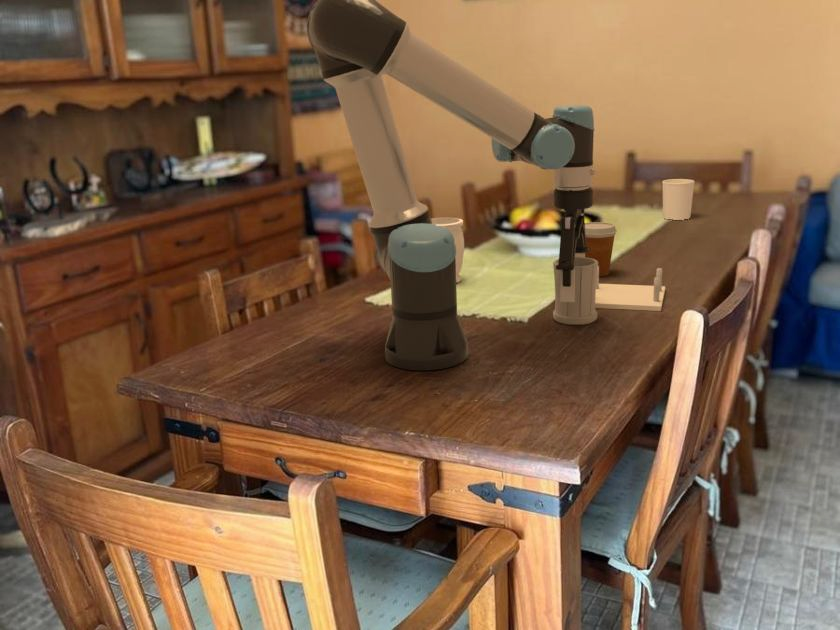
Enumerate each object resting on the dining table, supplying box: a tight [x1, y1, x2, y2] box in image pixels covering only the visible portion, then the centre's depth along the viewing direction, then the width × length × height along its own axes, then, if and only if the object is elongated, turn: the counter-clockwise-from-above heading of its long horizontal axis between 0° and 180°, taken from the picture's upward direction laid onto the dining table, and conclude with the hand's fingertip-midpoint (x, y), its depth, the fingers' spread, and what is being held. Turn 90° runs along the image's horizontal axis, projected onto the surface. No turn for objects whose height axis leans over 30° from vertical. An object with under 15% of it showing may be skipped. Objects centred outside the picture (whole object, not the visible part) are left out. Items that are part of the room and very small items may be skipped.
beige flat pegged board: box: [595, 266, 666, 312], centre depth 176 cm, size 16×16×6 cm
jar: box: [431, 217, 465, 284], centre depth 197 cm, size 11×10×15 cm
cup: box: [552, 257, 598, 326], centre depth 164 cm, size 10×9×12 cm
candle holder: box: [661, 178, 695, 221], centre depth 260 cm, size 10×10×12 cm
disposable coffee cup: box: [582, 221, 618, 278], centre depth 197 cm, size 10×10×12 cm
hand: (572, 292), depth 164 cm, fingers open, 13 cm apart
